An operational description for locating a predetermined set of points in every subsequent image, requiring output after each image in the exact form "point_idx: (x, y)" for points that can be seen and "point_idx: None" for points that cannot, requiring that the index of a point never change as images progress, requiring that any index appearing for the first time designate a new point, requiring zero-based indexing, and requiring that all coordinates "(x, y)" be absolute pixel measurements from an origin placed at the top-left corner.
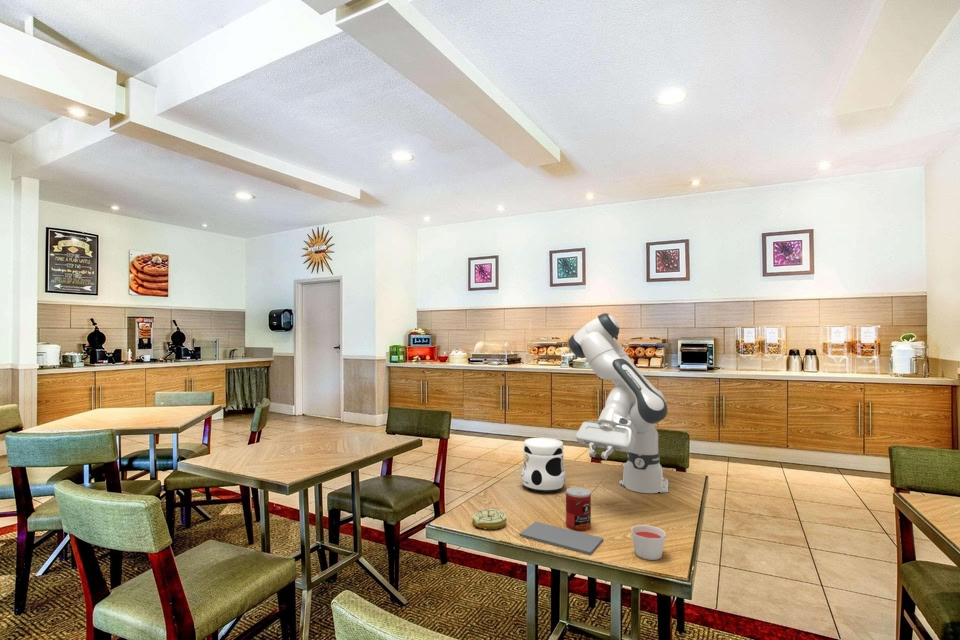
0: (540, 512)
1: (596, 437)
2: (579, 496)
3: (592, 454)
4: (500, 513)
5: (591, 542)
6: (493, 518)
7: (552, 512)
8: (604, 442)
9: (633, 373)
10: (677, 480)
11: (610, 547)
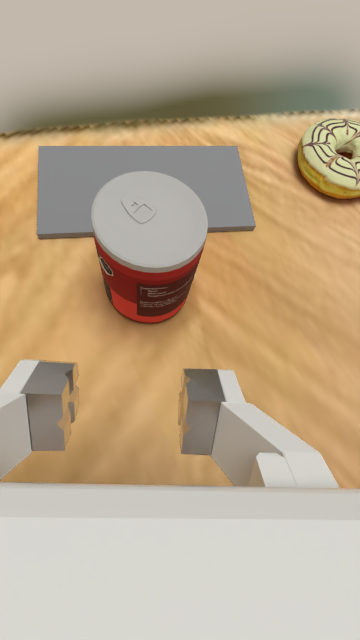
0: (300, 313)
1: (275, 586)
2: (121, 178)
3: (188, 369)
4: (330, 155)
5: (57, 192)
6: (320, 128)
7: (272, 338)
8: (8, 486)
9: None
10: None
11: (7, 213)
